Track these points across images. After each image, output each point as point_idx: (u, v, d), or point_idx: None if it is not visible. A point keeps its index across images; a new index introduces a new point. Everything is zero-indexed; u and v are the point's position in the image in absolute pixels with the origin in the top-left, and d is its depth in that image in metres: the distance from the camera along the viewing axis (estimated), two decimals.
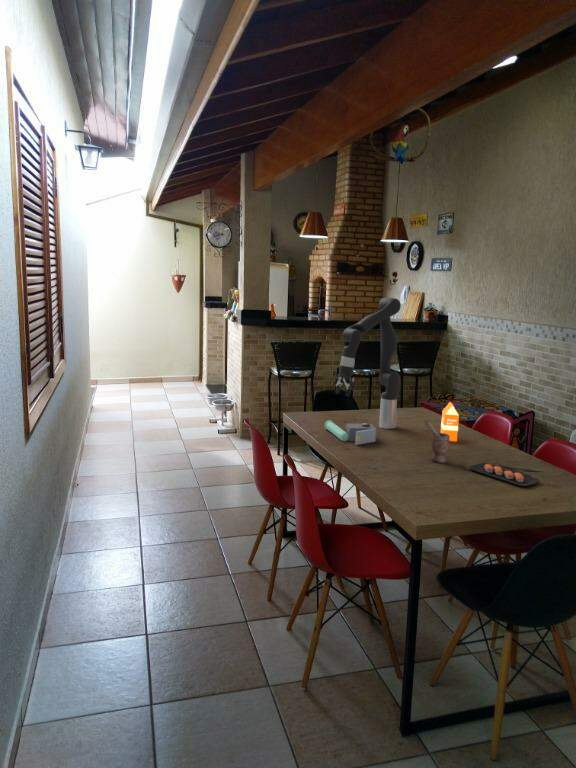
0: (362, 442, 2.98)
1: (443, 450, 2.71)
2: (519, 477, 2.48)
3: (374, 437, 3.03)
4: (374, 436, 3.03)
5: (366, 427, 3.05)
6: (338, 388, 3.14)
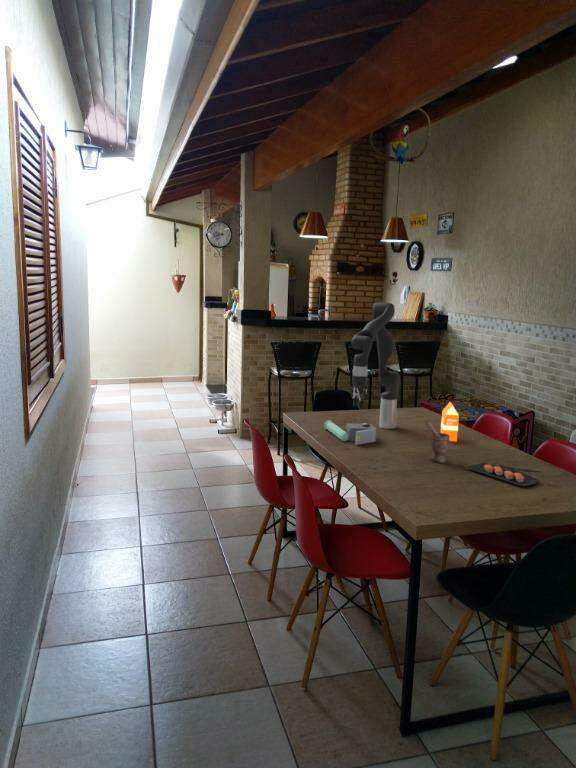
0: (362, 442, 2.98)
1: (443, 450, 2.71)
2: (519, 477, 2.48)
3: (374, 437, 3.03)
4: (374, 436, 3.03)
5: (366, 427, 3.05)
6: (355, 400, 2.99)
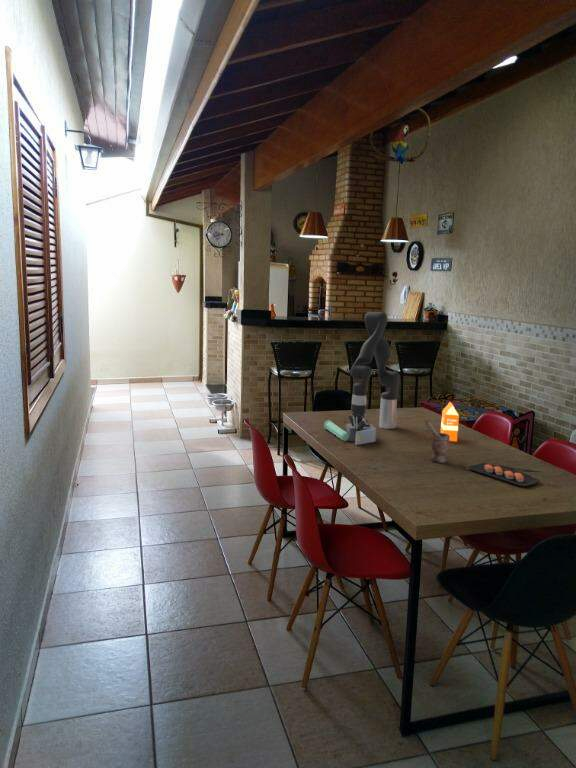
0: (362, 442, 2.98)
1: (443, 450, 2.71)
2: (519, 477, 2.48)
3: (374, 437, 3.03)
4: (374, 436, 3.03)
5: (366, 427, 3.05)
6: None
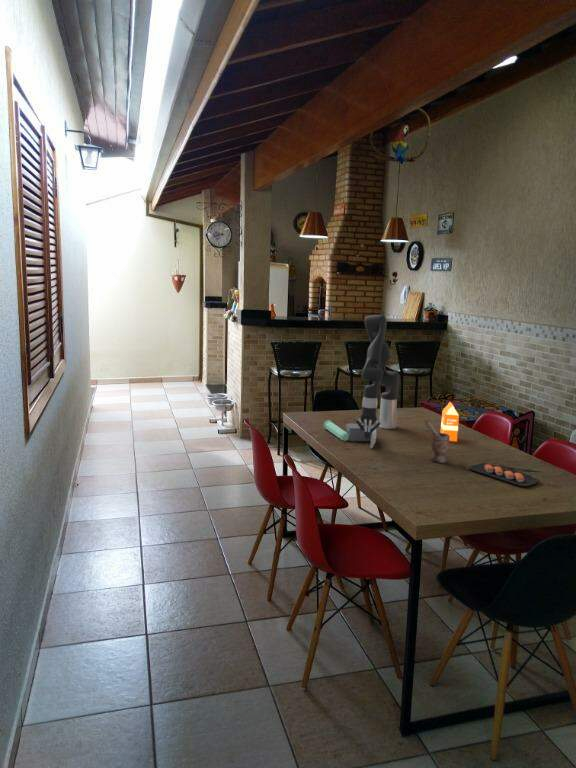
0: (373, 444, 2.95)
1: (443, 450, 2.71)
2: (519, 477, 2.48)
3: (375, 437, 3.03)
4: (375, 436, 3.03)
5: None
6: None
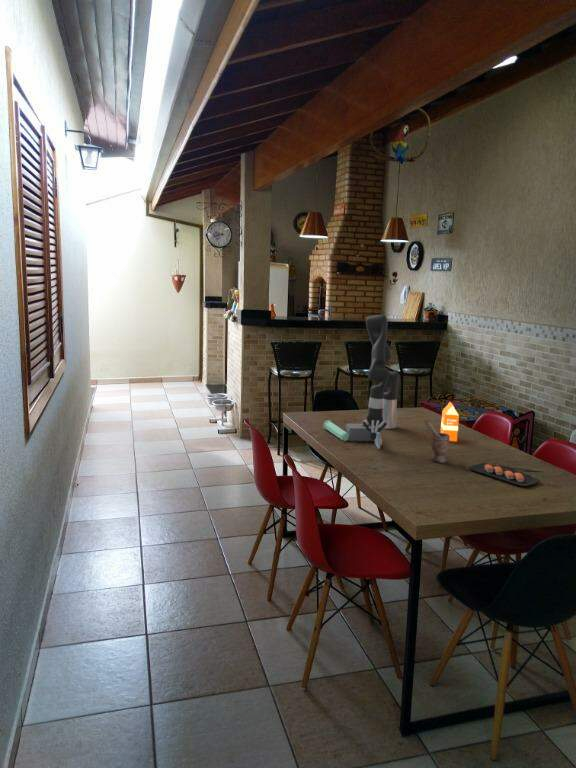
0: None
1: (443, 450, 2.71)
2: (519, 477, 2.48)
3: None
4: None
5: None
6: None
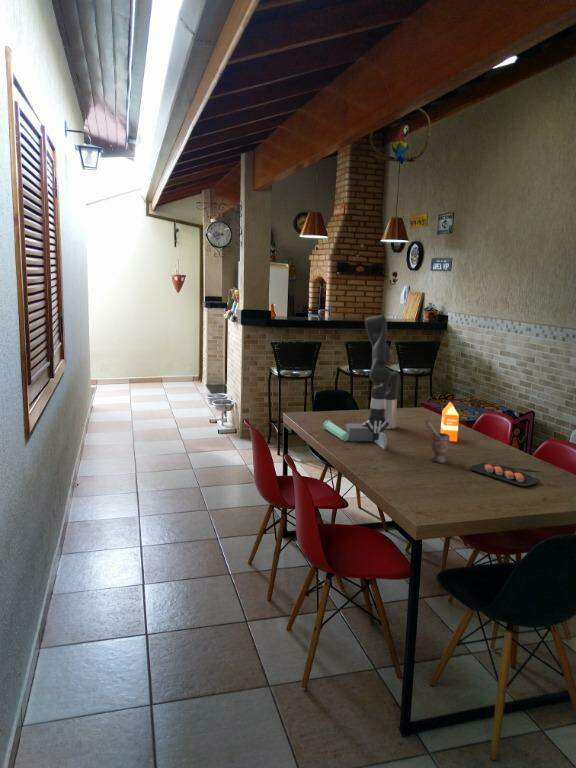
0: None
1: (443, 450, 2.71)
2: (519, 477, 2.48)
3: None
4: None
5: (366, 427, 3.05)
6: None
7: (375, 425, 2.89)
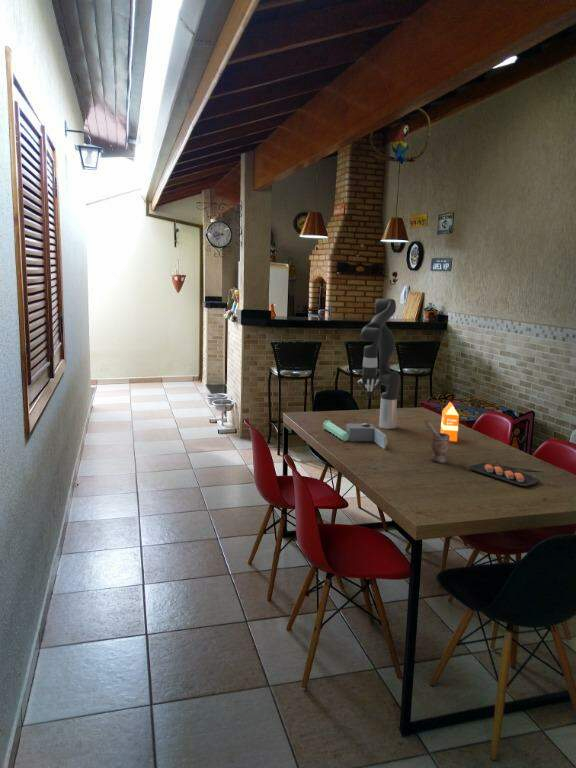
0: None
1: (443, 450, 2.71)
2: (519, 477, 2.48)
3: None
4: None
5: (366, 427, 3.05)
6: None
7: (368, 383, 2.99)
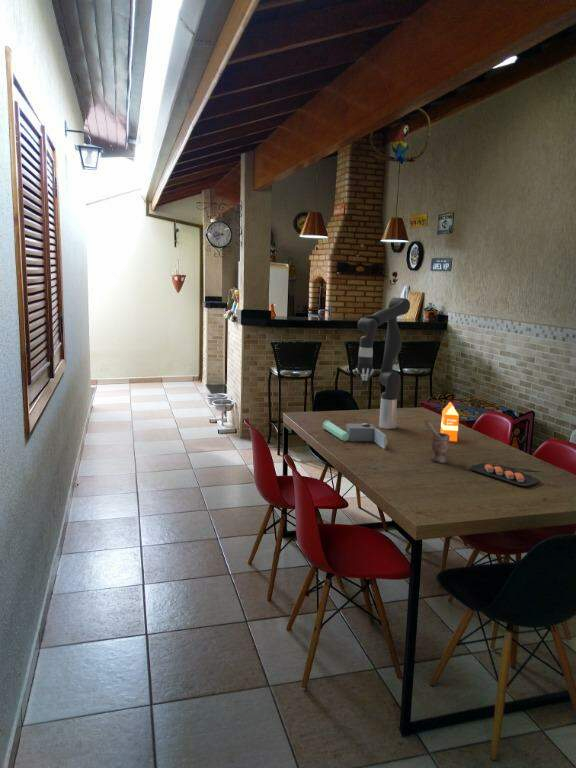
0: None
1: (443, 450, 2.71)
2: (519, 477, 2.48)
3: None
4: None
5: (366, 427, 3.05)
6: None
7: (363, 373, 3.08)
